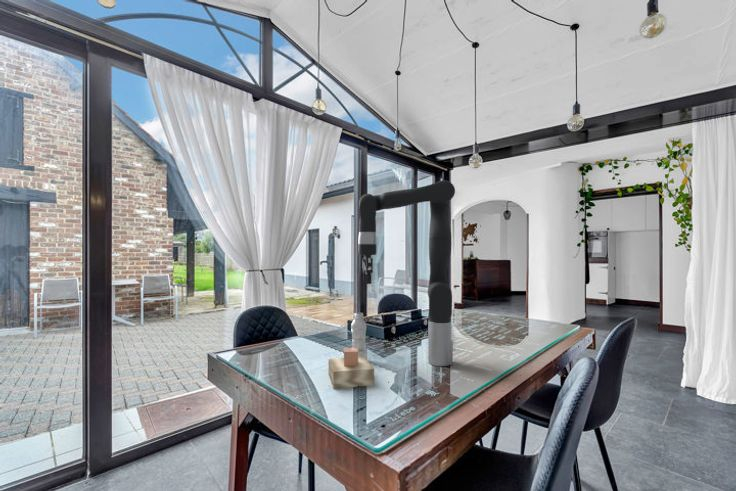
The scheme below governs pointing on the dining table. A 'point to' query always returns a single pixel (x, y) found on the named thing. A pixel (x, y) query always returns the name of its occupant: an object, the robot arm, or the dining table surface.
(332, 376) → the beige square slab
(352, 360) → the terracotta block
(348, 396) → the dining table surface
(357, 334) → the plastic bottle
